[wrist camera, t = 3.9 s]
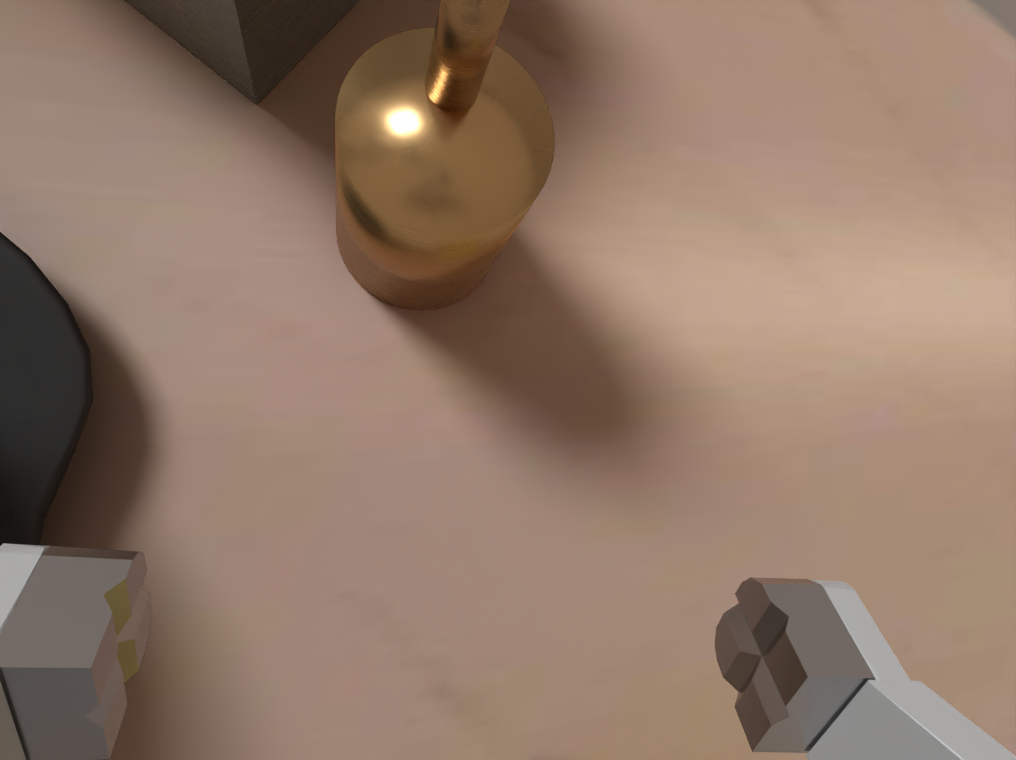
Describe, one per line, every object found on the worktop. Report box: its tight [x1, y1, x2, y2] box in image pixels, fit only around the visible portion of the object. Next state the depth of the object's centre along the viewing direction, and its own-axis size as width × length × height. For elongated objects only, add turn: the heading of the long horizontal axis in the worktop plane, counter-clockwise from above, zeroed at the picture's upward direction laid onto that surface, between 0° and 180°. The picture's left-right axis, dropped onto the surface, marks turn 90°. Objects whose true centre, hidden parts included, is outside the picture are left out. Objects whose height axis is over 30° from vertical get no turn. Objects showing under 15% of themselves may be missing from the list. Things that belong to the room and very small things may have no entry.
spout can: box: [335, 0, 554, 310], centre depth 20 cm, size 6×6×12 cm
